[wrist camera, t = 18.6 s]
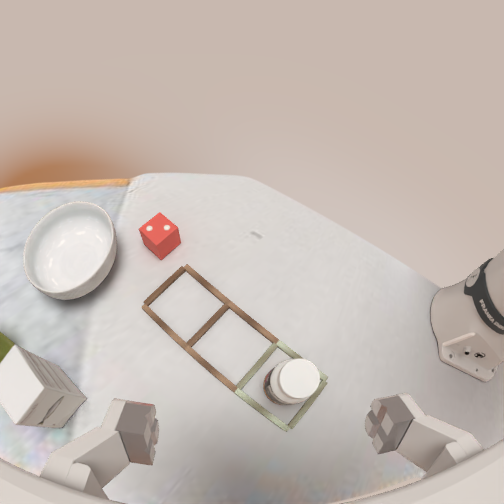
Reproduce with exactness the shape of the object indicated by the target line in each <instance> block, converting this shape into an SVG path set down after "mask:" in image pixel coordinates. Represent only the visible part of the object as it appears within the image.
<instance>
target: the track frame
mask: <svg viewBox="0 0 504 504" xmlns="http://www.w3.org/2000/svg"><path fill="white" fill-rule="evenodd" d="M185 271H187V272H188V273H189V274H190V275H191V276H192V277H194V278H195V279H196V280H197V281H198V282H199V283H200V284H202V285H203V286H204V287H205V288H206V289H207V290H209V291H210V292H211V293H212V294H213V295H215V296H216V297H217V298H218V299H219V300H220V301H222V302H223V303H224V305H223V306H222V307H221V308H220V309H219V310H218V311H217V312H216V313H215V314H214V315H213V316H212V317H211V318H210V319H209V320H208V321H207V322H206V324H205V325H204V326H203V327H202V328H201V329H200V330H199V331H198V332H197V333H196V334H195V335H194V336H193V337H192V338H191V339H190V340H189V341H188V342H187V343H186V342H184V341H183V340H182V339H181V338H180V337H179V336H178V335H177V334H176V333H175V332H174V331H173V330H172V329H171V328H170V327H168V326H167V325H166V324H165V323H164V322H163V321H162V320H161V319H160V318H159V317H158V316H157V315H156V314H155V313H154V312H153V311H152V310H151V309H150V308H149V307H148V306H149V305H150V304H151V303H152V302H153V301H154V300H155V299H156V298H157V297H158V296H159V295H160V294H161V293H163V292H164V291H165V290H166V289H167V288H168V287H169V286H170V285H171V284H172V283H173V282H174V281H175V280H176V279H178V278H179V277H180V276H181V275H182V274H183V273H184V272H185ZM144 303H145V304H144V305H143V306H142V309H143V310H144V311H145V312H146V313H147V314H148V315H149V316H150V317H151V318H152V319H153V320H154V321H155V322H156V323H157V324H158V325H159V326H160V327H161V328H162V329H163V330H164V331H166V332H167V333H168V334H169V335H170V336H171V337H172V338H173V339H174V340H175V341H176V342H177V343H178V344H179V345H180V346H181V347H182V348H183V349H185V350H186V351H187V352H188V353H189V354H190V355H191V356H192V357H193V358H194V359H196V360H197V361H198V362H199V363H200V364H201V365H202V366H203V367H205V368H206V369H207V370H208V371H209V372H210V373H212V374H213V375H214V376H215V377H216V378H217V379H219V380H220V381H221V382H222V383H223V384H225V385H226V386H227V387H228V388H229V389H231V390H232V391H233V392H234V393H236V394H237V395H238V396H239V397H240V398H242V399H243V400H244V401H246V402H247V403H248V404H249V405H251V406H252V407H253V408H255V409H256V410H257V411H258V412H260V413H261V414H262V415H264V416H265V417H266V418H268V419H269V420H270V421H272V422H273V423H275V424H276V425H277V426H279V427H280V428H281V429H283V430H284V431H286V432H287V431H288V429H289V428H291V429H293V428H294V426H295V425H296V424H297V423H298V421H299V420H300V419H301V418H302V416H303V415H304V414H305V413H306V411H307V410H308V409H309V407H310V406H311V405H312V403H313V402H314V401H315V399H316V398H317V397H318V395H319V394H320V393H321V391H322V390H323V389H324V387H325V386H326V384H327V382H325V381H326V380H327V379H328V377H327V376H326V375H325V374H323V373H322V372H321V371H319V370H318V371H319V374H320V379H321V380H322V381H321V383H320V384H319V386H318V388H317V390H316V391H315V392H314V393H313V394H312V395H311V396H310V397H309V399H308V400H307V401H306V403H305V404H304V405H303V406H302V408H301V409H300V410H299V411H298V413H297V414H296V415H295V416H294V418H293V419H292V420H291V421H290V423H289V424H288V425H286V424H285V423H283V422H282V421H281V420H279V419H278V418H277V417H275V416H274V415H272V414H271V413H270V412H268V411H267V410H266V409H264V408H263V407H262V406H261V405H259V404H258V403H257V402H255V401H254V400H253V399H251V398H250V397H249V396H248V395H246V394H245V393H244V392H243V391H241V389H242V387H243V386H244V385H245V384H246V383H247V382H248V381H249V379H250V378H251V377H252V376H253V375H254V374H255V373H256V371H257V370H258V369H259V368H260V367H261V366H262V364H263V363H264V362H265V361H266V360H267V358H268V357H269V356H270V355H271V354H272V353H273V351H274V350H275V349H276V348H277V347H279V348H280V349H281V350H282V351H284V352H285V353H286V354H288V355H289V356H290V357H291V358H293V359H303V358H302V357H301V356H299V355H298V354H297V353H296V352H294V351H293V350H292V349H290V348H289V347H288V346H286V345H285V344H284V343H283V342H281V341H280V340H279V339H277V338H276V337H275V336H274V335H272V334H271V333H270V332H269V331H267V330H266V329H265V328H264V327H262V326H261V325H260V324H259V323H257V322H256V321H255V320H254V319H252V318H251V317H250V316H249V315H247V314H246V313H245V312H244V311H242V310H241V309H240V308H239V307H238V306H236V305H235V304H234V303H233V302H231V301H230V300H229V299H228V298H227V297H225V296H224V295H223V294H222V293H221V292H219V291H218V290H217V289H216V288H215V287H213V286H212V285H211V284H210V283H209V282H208V281H206V280H205V279H204V278H203V277H202V276H200V275H199V274H198V273H197V272H196V271H195V270H193V269H192V268H191V267H190V266H189V265H188V264H187V265H186V266H185V267H183V266H181V267H180V268H179V269H178V270H177V271H176V272H175V273H174V274H173V275H172V276H170V277H169V278H168V279H167V280H166V281H165V282H164V283H163V284H162V285H161V286H160V287H159V288H158V289H156V290H155V291H154V292H153V293H152V294H151V295H150V296H149V297H148V298H147V299H146V300H145V301H144ZM229 308H230V309H231V310H232V311H234V312H235V313H236V314H237V315H239V316H240V317H241V318H242V319H243V320H245V321H246V322H247V323H248V324H250V325H251V326H252V327H253V328H255V329H256V330H257V331H258V332H260V333H261V334H262V335H263V336H265V337H266V338H267V339H268V340H270V341H271V342H272V343H273V344H272V345H271V346H270V347H269V349H268V350H267V351H266V352H265V353H264V355H263V356H262V357H261V358H260V359H259V360H258V362H257V363H256V364H255V365H254V366H253V367H252V368H251V370H250V371H249V372H248V373H247V374H246V375H245V376H244V378H243V379H242V380H241V381H240V382H239V383H238V384H237V385H236V386H235V385H234V384H233V383H232V382H230V381H229V380H228V379H227V378H225V377H224V376H223V375H222V374H221V373H220V372H218V371H217V370H216V369H215V368H214V367H212V366H211V365H210V364H209V363H208V362H207V361H206V360H204V359H203V358H202V357H201V356H200V355H199V354H198V353H197V352H195V351H194V350H193V349H192V348H191V347H192V346H193V345H194V344H195V343H196V342H197V341H198V340H199V339H200V338H201V337H202V336H203V335H204V334H205V333H206V332H207V331H208V330H209V328H210V327H211V326H212V325H213V324H214V323H215V322H216V321H217V320H218V319H219V318H220V317H221V316H222V315H223V314H224V313H225V312H226V311H227V310H228V309H229Z"/></svg>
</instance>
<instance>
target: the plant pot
mask: <svg viewBox="0 0 504 504" xmlns="http://www.w3.org/2000/svg"><path fill="white" fill-rule="evenodd" d="M14 345H15V344H14V343H13V342H12V341H11V340H10V339H8V338H7V337H6V336H5V335H3V334H2V333H1V332H0V363H1V361H2V360H3V359H4V357H5V356H6V355H7V353H8V352H9V351H10V349H11V348H12V347H13V346H14Z"/></svg>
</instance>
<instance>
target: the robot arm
mask: <svg viewBox="0 0 504 504" xmlns="http://www.w3.org/2000/svg"><path fill="white" fill-rule="evenodd" d="M431 323H432V327H433V331H434V334H435V336H436V338H437V341H438V348H439V356H440V359H441V360H442V361H443V362H445V363H447V364H449V365H451V366H453V367H455V368H457V369H459V370H461V371H463V372H465V373H467V374H469V375H471V376H473V377H476V378H478V379H480V380H482V381H484V382H487V381H489V380H490V379H491V378H492V377H493V376H494V375H495V373H496V371H497V369H498V366H499V364H500V363H502V362H503V361H504V249H503V250H502V251H501V252H500V253H499V254H498V255H497V256H496V257H495V258H491V259H489V260H488V261H486V262H485V263H484V264H482V265H481V266H480V267H479V268H477V269H476V270H475V271H474V272H472V274H470V275H469V276H468V278H467V279H465V280H463V281H461V282H459V283H457V284H455V285H452V286H449V287H446V288H442V289H441V290H439V291H438V292H437V294H436V295H435V297H434V299H433V301H432V305H431ZM449 356H450V357H449ZM370 407H371V409H372V410H371V411H370V412H369V413H368V414H367V416H366V419H365V429H366V432H367V434H368V436H370V437H372V438H373V442H372V444H373V446H374V448H375V450H376V452H377V454H382V453H386V452H390V451H394V450H396V451H397V452H398V453H399V454H401V455H402V456H404V457H405V458H407V459H408V460H410V461H411V462H413V463H414V464H416V465H417V466H419V467H420V468H422V469H423V470H425V471H426V472H427V473H426V474H425V475H424V476H423V478H422V479H421V480H420V481H417V482H414V483H412V484H409V485H406V486H403V487H400V488H397V489H394V490H391V491H388V492H385V493H381V494H378V495H375V496H370V497H367V498H363V499H359V500H355V501H351V502H346V503H341V504H504V439H502V440H501V441H499V442H497V443H496V444H494V445H492V446H491V447H489V448H487V449H485V450H484V449H483V447H482V446H481V445H480V444H479V442H478V441H477V440H476V439H475V438H474V436H473V435H472V434H471V433H469V432H467V431H464V430H462V429H460V428H457V427H455V426H452V425H450V424H448V423H445V422H443V421H441V420H438V419H436V418H434V417H432V416H429V415H428V416H426V415H425V414H424V413H423V412H422V410H421V409H420V408H419V406H418V405H417V404H416V402H415V401H414V400H413V399H412V397H411V396H410V395H409V394H408V393H402V394H398V395H393V396H388V397H383V398H378V399H374V400H373V401H372V403H371V406H370ZM155 414H156V409H155V405H153V404H147V403H140V402H134V401H127V400H121V399H116V398H115V399H114V400H112V402H111V404H110V407H109V409H108V411H107V414H106V416H105V418H104V420H103V423H102V425H101V427H96V428H94V429H92V430H91V431H89V432H87V433H86V434H84V435H82V436H80V437H79V438H77V439H75V440H73V441H72V442H70V443H68V444H66V445H65V446H63V447H61V448H59V449H57V450H56V451H54V452H52V453H51V454H50V456H49V458H48V460H47V462H46V464H45V466H44V468H43V470H42V472H41V475H40V477H39V476H37V475H34V474H32V473H30V472H27V471H25V470H23V469H21V468H19V467H17V466H15V465H13V464H11V463H9V462H7V461H5V460H3V459H1V458H0V504H126V503H121V502H117V501H112V500H109V499H108V497H107V496H106V494H105V492H104V491H103V489H102V488H103V487H104V486H105V485H106V484H107V483H109V482H110V481H111V480H112V479H113V478H114V477H115V476H117V475H118V474H119V473H120V472H121V471H122V470H123V469H124V468H126V467H127V466H128V465H129V464H130V462H132V463H139V464H147V465H153V461H154V457H155V448H154V445H155V444H157V442H158V436H159V425H158V420H157V419H156V418H155Z"/></svg>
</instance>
